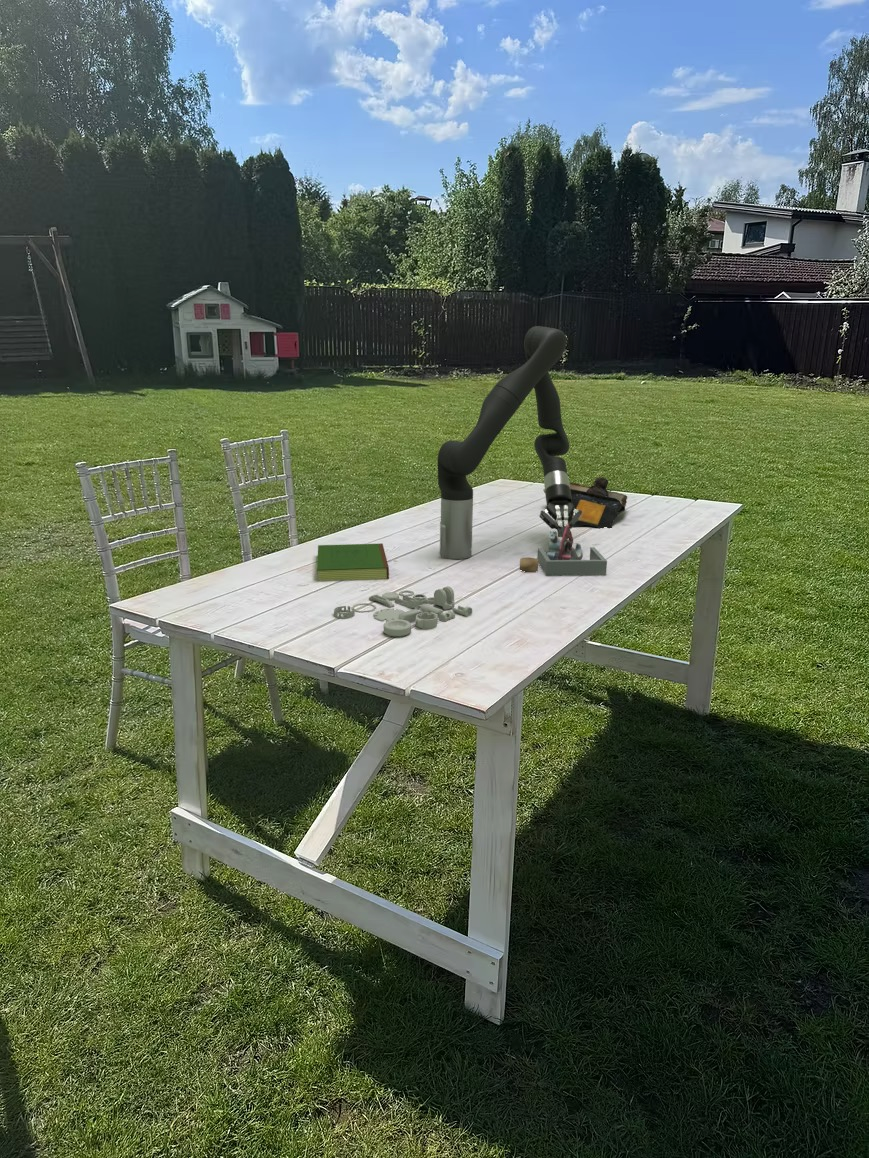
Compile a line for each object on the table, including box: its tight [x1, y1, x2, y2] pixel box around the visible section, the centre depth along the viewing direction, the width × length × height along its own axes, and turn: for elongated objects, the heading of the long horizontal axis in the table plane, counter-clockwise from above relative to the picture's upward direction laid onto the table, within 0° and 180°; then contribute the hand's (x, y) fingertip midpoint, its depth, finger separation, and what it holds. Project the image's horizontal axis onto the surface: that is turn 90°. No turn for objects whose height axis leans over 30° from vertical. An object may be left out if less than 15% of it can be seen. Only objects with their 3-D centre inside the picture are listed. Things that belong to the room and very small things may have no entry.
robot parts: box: [333, 586, 473, 638], centre depth 183 cm, size 25×25×5 cm
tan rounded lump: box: [519, 556, 539, 573], centre depth 216 cm, size 5×5×3 cm
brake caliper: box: [545, 525, 584, 560], centre depth 223 cm, size 11×11×12 cm
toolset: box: [543, 476, 628, 529], centre depth 279 cm, size 40×20×27 cm
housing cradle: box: [536, 546, 608, 577], centre depth 218 cm, size 16×14×4 cm
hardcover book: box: [316, 542, 390, 582], centre depth 218 cm, size 25×19×4 cm
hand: (564, 539), depth 227 cm, fingers closed
